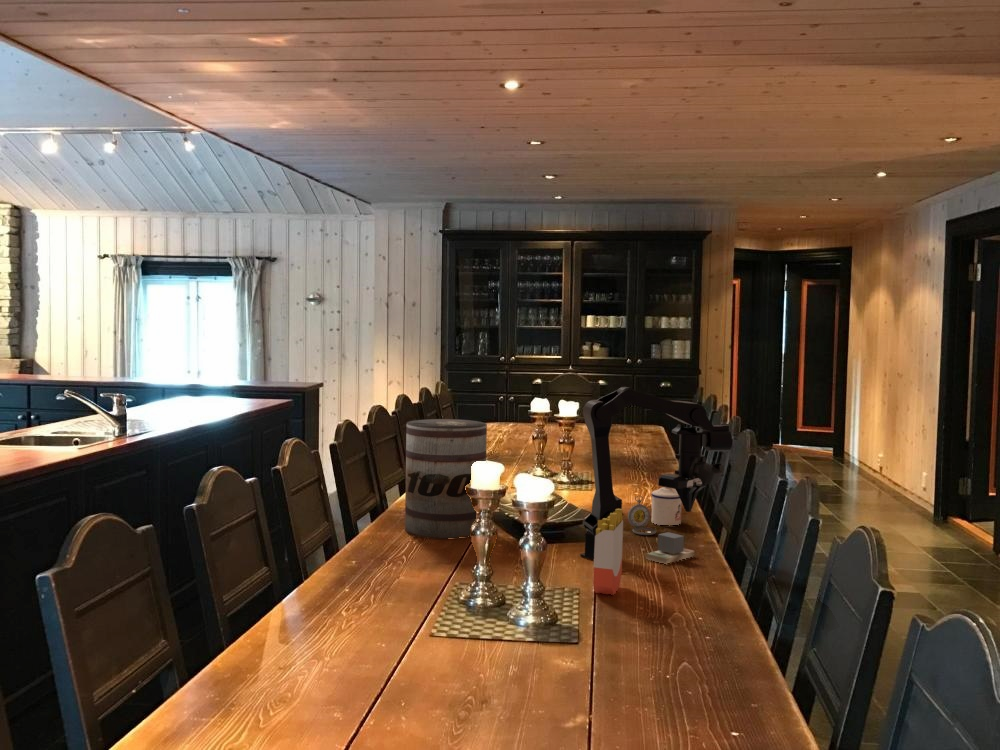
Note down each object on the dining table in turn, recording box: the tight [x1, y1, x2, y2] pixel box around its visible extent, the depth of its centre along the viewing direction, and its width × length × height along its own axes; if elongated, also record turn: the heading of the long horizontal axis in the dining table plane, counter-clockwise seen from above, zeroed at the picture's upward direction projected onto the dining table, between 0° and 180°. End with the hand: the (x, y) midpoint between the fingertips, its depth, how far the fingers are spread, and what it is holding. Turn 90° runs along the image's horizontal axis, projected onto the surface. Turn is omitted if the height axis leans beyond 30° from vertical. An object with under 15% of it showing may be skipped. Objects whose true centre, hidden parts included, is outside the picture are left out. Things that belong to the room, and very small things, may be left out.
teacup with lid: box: [650, 486, 683, 527], centre depth 263 cm, size 12×9×12 cm
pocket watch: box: [627, 495, 657, 536], centre depth 250 cm, size 8×8×10 cm
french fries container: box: [592, 508, 624, 596], centre depth 195 cm, size 5×11×18 cm, turn 161°
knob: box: [657, 531, 685, 554], centre depth 223 cm, size 4×5×4 cm
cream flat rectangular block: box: [645, 547, 695, 565], centre depth 223 cm, size 12×6×2 cm, turn 131°
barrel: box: [404, 418, 488, 540], centre depth 248 cm, size 22×22×30 cm
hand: (688, 511), depth 227 cm, fingers closed
